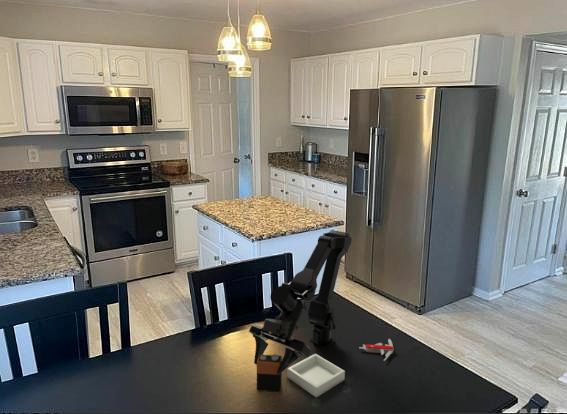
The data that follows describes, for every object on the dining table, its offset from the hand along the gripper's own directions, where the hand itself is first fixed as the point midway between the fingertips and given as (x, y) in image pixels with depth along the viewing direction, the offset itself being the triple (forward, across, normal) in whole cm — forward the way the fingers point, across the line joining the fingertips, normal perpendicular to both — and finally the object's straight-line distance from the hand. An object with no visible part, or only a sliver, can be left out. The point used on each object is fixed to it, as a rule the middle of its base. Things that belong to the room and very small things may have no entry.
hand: (266, 368), depth 117 cm
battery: (+4, 0, +6) cm, 7 cm away
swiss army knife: (-22, +18, +31) cm, 42 cm away
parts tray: (-4, +9, +14) cm, 17 cm away
